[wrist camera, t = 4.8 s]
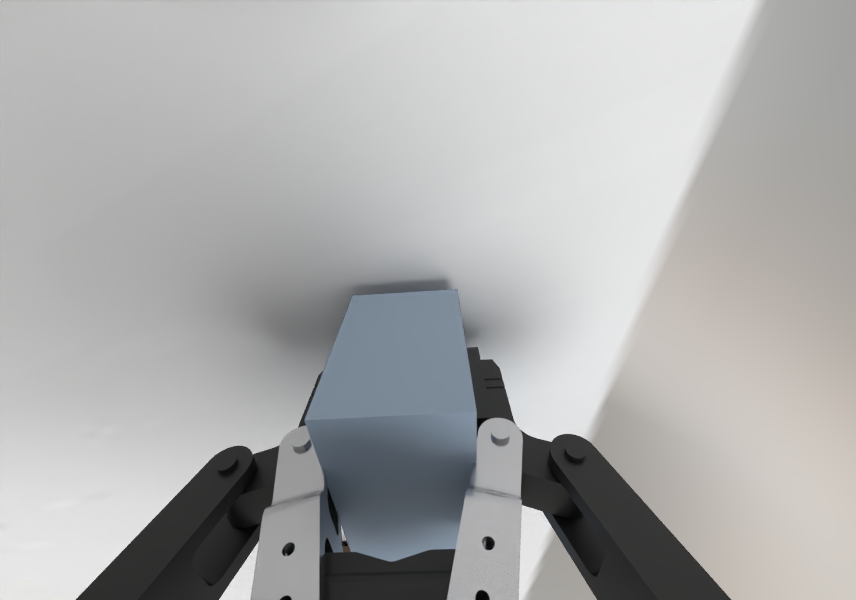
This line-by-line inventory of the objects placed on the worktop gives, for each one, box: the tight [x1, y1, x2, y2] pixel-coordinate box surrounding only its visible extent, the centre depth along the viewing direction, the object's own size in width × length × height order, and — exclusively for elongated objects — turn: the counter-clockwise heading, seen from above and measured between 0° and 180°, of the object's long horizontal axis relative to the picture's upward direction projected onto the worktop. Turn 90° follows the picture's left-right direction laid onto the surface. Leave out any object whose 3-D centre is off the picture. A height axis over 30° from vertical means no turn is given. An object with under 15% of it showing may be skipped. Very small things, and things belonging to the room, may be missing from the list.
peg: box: [304, 289, 477, 562], centre depth 14 cm, size 12×4×6 cm, turn 4°
